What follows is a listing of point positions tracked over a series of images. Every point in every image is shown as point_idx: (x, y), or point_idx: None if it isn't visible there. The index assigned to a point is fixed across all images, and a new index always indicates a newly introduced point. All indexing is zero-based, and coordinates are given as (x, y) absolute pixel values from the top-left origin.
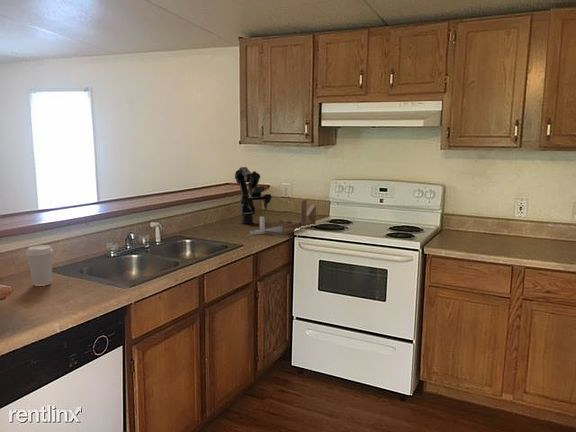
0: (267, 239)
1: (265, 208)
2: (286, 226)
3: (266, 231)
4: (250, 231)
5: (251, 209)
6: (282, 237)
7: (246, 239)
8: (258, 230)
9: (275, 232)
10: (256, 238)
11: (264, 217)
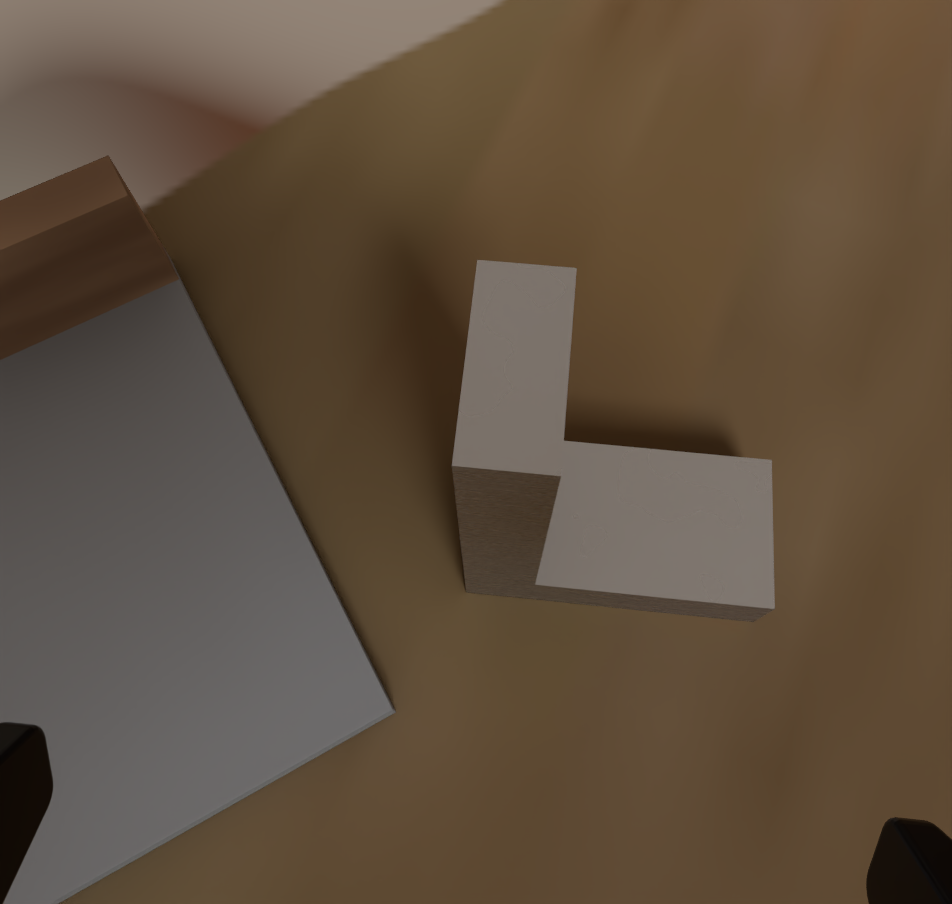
0: (615, 63)
1: (9, 829)
2: (49, 187)
3: (354, 632)
4: (768, 597)
5: (935, 825)
6: (333, 89)
7: (948, 182)
8: (589, 536)
9: (251, 423)
10: (763, 182)
11: (480, 262)
